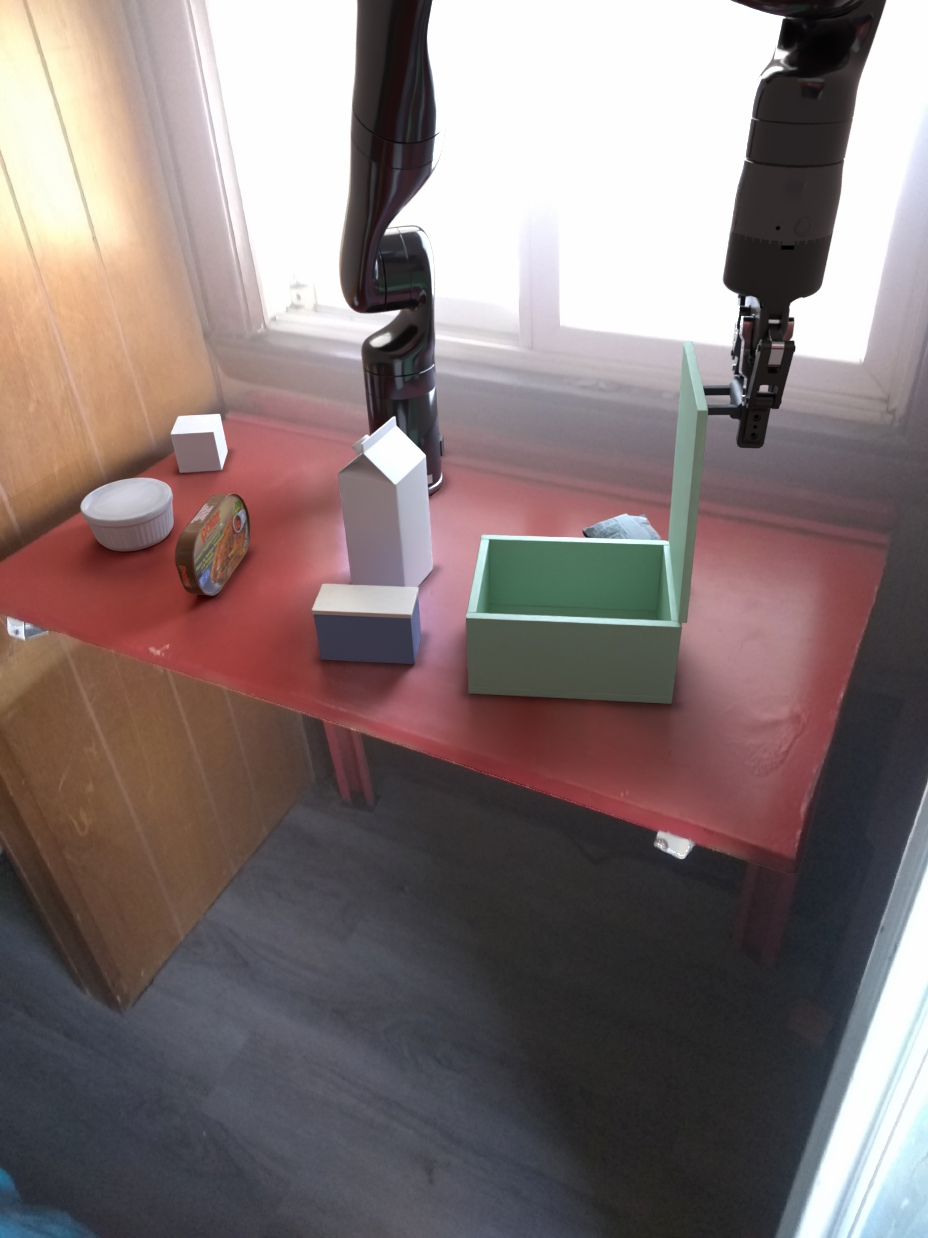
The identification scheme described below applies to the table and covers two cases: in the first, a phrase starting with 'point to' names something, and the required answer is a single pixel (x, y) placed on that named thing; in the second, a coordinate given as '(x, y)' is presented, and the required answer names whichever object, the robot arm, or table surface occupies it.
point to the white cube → (199, 443)
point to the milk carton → (387, 510)
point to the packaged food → (623, 529)
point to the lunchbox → (573, 619)
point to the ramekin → (129, 513)
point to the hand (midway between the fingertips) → (744, 430)
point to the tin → (213, 544)
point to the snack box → (367, 623)
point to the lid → (692, 467)
